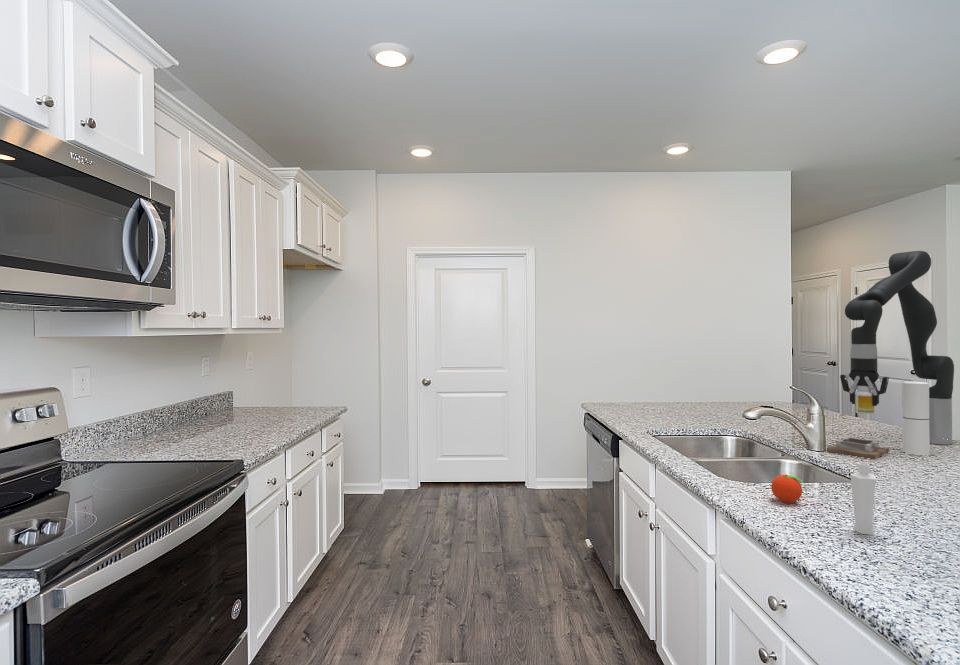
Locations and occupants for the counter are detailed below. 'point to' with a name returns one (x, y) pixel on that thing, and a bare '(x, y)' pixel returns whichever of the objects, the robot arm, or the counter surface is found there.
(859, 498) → the perfume bottle
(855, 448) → the socket board
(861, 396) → the supplement bottle
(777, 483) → the clementine
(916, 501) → the counter surface
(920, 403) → the cylindrical container
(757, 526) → the counter surface
